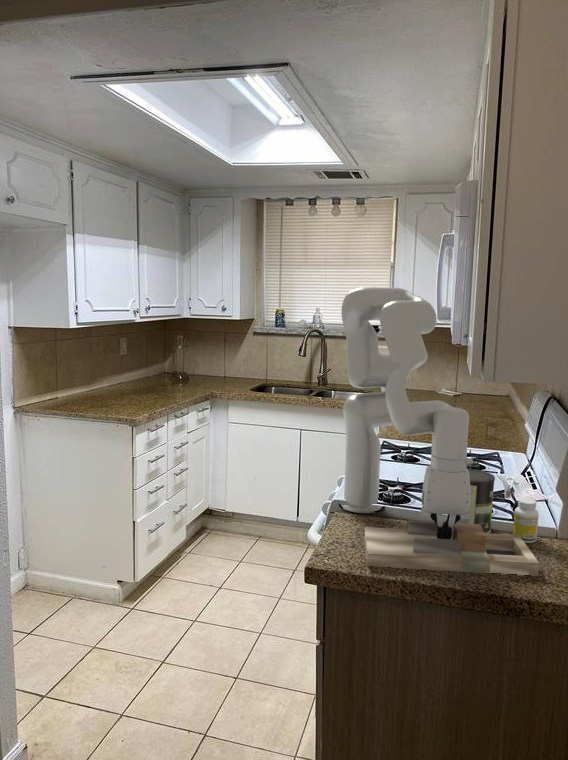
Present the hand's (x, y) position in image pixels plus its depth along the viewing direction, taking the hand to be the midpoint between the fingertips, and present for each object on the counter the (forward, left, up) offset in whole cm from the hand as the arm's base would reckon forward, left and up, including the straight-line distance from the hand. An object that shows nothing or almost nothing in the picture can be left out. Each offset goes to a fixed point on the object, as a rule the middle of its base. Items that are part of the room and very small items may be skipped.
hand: (443, 541), depth 130 cm
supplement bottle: (-12, +22, -4) cm, 25 cm away
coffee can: (-17, +10, -4) cm, 20 cm away
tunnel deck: (0, +1, -4) cm, 4 cm away
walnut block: (0, +5, -1) cm, 5 cm away
